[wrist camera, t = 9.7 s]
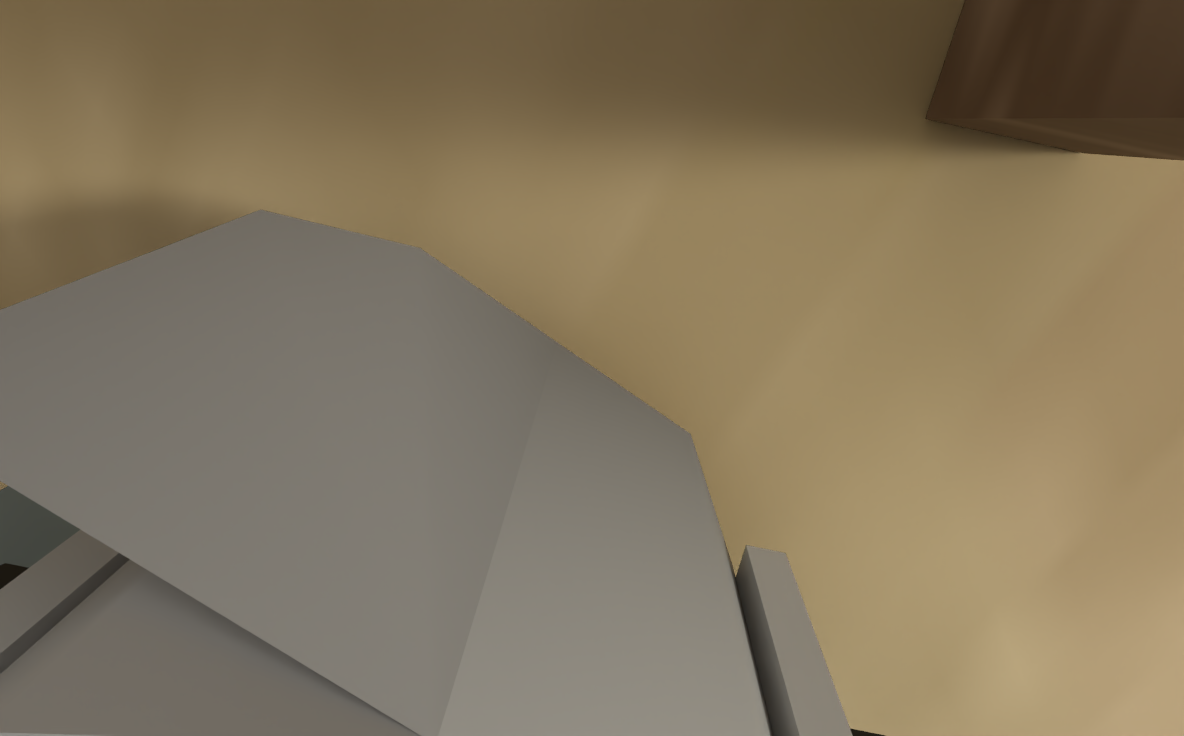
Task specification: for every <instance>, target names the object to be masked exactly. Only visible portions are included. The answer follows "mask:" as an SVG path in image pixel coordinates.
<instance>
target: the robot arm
mask: <svg viewBox="0 0 1184 736" xmlns="http://www.w3.org/2000/svg"><path fill="white" fill-rule="evenodd" d="M129 560H130V559H128V558H127V557H125V556H123V555H122V554H120V553H119V552H117V551H115V550H114V549H112V548H110V547H109V546H107V545H105V544H104V543H102V542H100V541H99V540H97V539H95V538H94V537H92V536H90V535H89V534H87V533H86V532H84V531H82V530H79V531H78V532H76V533H75V534H74V535H72V536H71V537H70V538H68V539H67V540H66V541H64V542H63V543H62V544H60V545H59V546H58V547H56V548H55V549H54V550H52V551H51V552H50V553H48V554H47V555H46V556H44V557H43V558H42V559H40V560H39V561H38V562H36V563H35V564H34V565H32V566H31V567H30V568H28V567H23V566H18V565H13V564H8V563H4V564H2V565H0V674H1V673H2V672H3V671H4V670H5V669H7V668H8V667H9V666H10V665H11V664H12V663H13V662H14V661H16V660H17V659H18V658H19V657H20V656H21V655H22V654H24V653H25V652H26V651H27V650H28V649H29V648H30V647H31V646H33V645H34V644H35V643H36V642H37V641H38V640H39V639H40V638H42V637H43V636H44V635H45V634H46V633H47V632H48V631H49V630H51V629H52V628H53V627H54V626H55V625H56V624H57V623H59V622H60V621H61V620H62V619H63V618H64V617H65V616H66V615H68V614H69V613H70V612H71V611H72V610H73V609H74V608H75V607H77V606H78V605H79V604H80V603H81V602H82V601H83V600H84V599H86V598H87V597H88V596H89V595H90V594H91V593H92V592H94V591H95V590H96V589H97V588H98V587H99V586H100V585H101V584H103V583H104V582H105V581H106V580H107V579H108V578H109V577H110V576H112V575H113V574H114V573H115V572H116V571H117V570H118V569H120V568H121V567H122V566H123V565H124V564H125V563H126V562H127V561H129ZM736 582H737V586H738V590H739V594H740V598H741V602H742V607H743V611H744V615H745V619H746V623H747V627H748V631H749V635H750V640H751V644H752V648H753V652H754V656H755V660H756V664H757V668H758V673H759V677H760V681H761V685H762V689H763V693H764V697H765V701H766V706H767V710H768V714H769V718H770V722H771V726H772V730H773V734H774V736H884V735H879V734H874V733H869V732H864V731H859V730H854V729H850V727H849V724H848V722H847V719H846V716H845V714H844V711H843V708H842V705H841V703H840V700H839V697H838V694H837V692H836V689H835V686H834V684H833V681H832V678H831V675H830V673H829V670H828V667H827V664H826V662H825V659H824V656H823V654H822V651H821V648H820V645H819V643H818V640H817V637H816V635H815V632H814V629H813V626H812V624H811V621H810V618H809V615H808V613H807V610H806V607H805V605H804V602H803V599H802V596H801V594H800V591H799V588H798V585H797V583H796V580H795V577H794V575H793V572H792V569H791V566H790V564H789V561H788V558H787V556H786V553H783V552H778V551H773V550H768V549H763V548H758V547H753V546H748V545H746V547H745V550H744V553H743V556H742V560H741V563H740V566H739V569H738V572H737V575H736Z"/></svg>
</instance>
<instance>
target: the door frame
mask: <svg viewBox="0 0 1184 736" xmlns="http://www.w3.org/2000/svg"><path fill="white" fill-rule="evenodd" d="M926 119H929V120H933V121H938V122H942V123H947V124H952V125H956V126H961V127H965V128H970V129H975V130H979V131H984V132H988V133H993V134H998V135H1002V136H1007V137H1012V138H1016V139H1021V140H1025V141H1030V142H1035V143H1039V144H1044V145H1048V146H1053V147H1058V148H1062V149H1067V150H1071V151H1076V152H1081V153H1088V154H1102V155H1116V156H1130V157H1144V158H1157V159H1171V160H1184V0H965V3H964V6H963V9H962V12H961V15H960V18H959V21H958V24H957V27H956V30H955V33H954V36H953V39H952V42H951V45H950V48H949V51H948V54H947V57H946V60H945V63H944V65H943V68H942V71H941V74H940V77H939V80H938V83H937V86H936V89H935V92H934V95H933V98H932V101H931V104H930V107H929V110H928V113H927V116H926Z"/></svg>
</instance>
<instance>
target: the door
mask: <svg viewBox="0 0 1184 736" xmlns="http://www.w3.org/2000/svg"><path fill="white" fill-rule="evenodd" d="M79 530H81V529H79V528H77V527H76V526H74V525H72V524H71V523H69V522H67V521H66V520H64V519H62V518H61V517H59V516H57V515H56V514H54V513H52V512H51V511H49V510H48V509H46V508H44V507H43V506H41V505H39V504H38V503H36V502H34V501H33V500H31V499H29V498H28V497H26V496H24V495H23V494H21V493H19V492H18V491H16V490H14V489H13V488H11V487H10V486H7V487H5V488H4V489H2V490H0V565H2V564H4V563H8V564H13V565H18V566H23V567H28V568H30V567H31V566H32V565H34V564H35V563H36V562H38V561H39V560H40V559H42V558H43V557H44V556H46V555H47V554H48V553H50V552H51V551H52V550H54V549H55V548H56V547H58V546H59V545H60V544H62V543H63V542H64V541H66V540H67V539H68V538H70V537H71V536H72V535H74V534H75V533H76V532H78V531H79Z"/></svg>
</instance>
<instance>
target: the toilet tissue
mask: <svg viewBox="0 0 1184 736" xmlns="http://www.w3.org/2000/svg"><path fill="white" fill-rule="evenodd" d="M0 481H1V482H3V483H5V484H6V485H8V486H10V487H11V488H13V489H14V490H16V491H18V492H19V493H21V494H23V495H24V496H26V497H28V498H29V499H31V500H33V501H34V502H36V503H38V504H39V505H41V506H43V507H44V508H46V509H48V510H49V511H51V512H52V513H54V514H56V515H57V516H59V517H61V518H62V519H64V520H66V521H67V522H69V523H71V524H72V525H74V526H76V527H77V528H79V529H81V530H82V531H84V532H86V533H87V534H89V535H90V536H92V537H94V538H95V539H97V540H99V541H100V542H102V543H104V544H105V545H107V546H109V547H110V548H112V549H114V550H115V551H117V552H119V553H120V554H122V555H123V556H125V557H127V558H128V559H130V560H129V561H127V562H126V563H125V564H124V565H123V566H122V567H121V568H120V569H118V570H117V571H116V572H115V573H114V574H113V575H112V576H110V577H109V578H108V579H107V580H106V581H105V582H104V583H103V584H101V585H100V586H99V587H98V588H97V589H96V590H95V591H94V592H92V593H91V594H90V595H89V596H88V597H87V598H86V599H84V600H83V601H82V602H81V603H80V604H79V605H78V606H77V607H75V608H74V609H73V610H72V611H71V612H70V613H69V614H68V615H66V616H65V617H64V618H63V619H62V620H61V621H60V622H59V623H57V624H56V625H55V626H54V627H53V628H52V629H51V630H49V631H48V632H47V633H46V634H45V635H44V636H43V637H42V638H40V639H39V640H38V641H37V642H36V643H35V644H34V645H33V646H31V647H30V648H29V649H28V650H27V651H26V652H25V653H24V654H22V655H21V656H20V657H19V658H18V659H17V660H16V661H14V662H13V663H12V664H11V665H10V666H9V667H8V668H7V669H5V670H4V671H3V672H2V673H1V674H0V736H774V734H773V730H772V726H771V722H770V718H769V714H768V710H767V706H766V701H765V697H764V693H763V689H762V685H761V681H760V677H759V673H758V668H757V664H756V660H755V656H754V652H753V648H752V644H751V640H750V635H749V631H748V627H747V623H746V619H745V615H744V611H743V607H742V602H741V598H740V594H739V590H738V586H737V582H736V577H735V573H734V569H733V565H732V562H731V559H730V556H729V553H728V550H727V547H726V543H725V540H724V537H723V534H722V531H721V528H720V525H719V522H718V518H717V515H716V512H715V509H714V506H713V503H712V500H711V496H710V493H709V490H708V487H707V484H706V481H705V478H704V474H703V471H702V468H701V465H700V462H699V459H698V456H697V452H696V449H695V446H694V443H693V440H692V437H691V434H690V433H688V432H687V431H685V430H684V429H683V428H681V427H680V426H678V425H677V424H675V423H674V422H672V421H671V420H669V419H668V418H667V417H665V416H664V415H662V414H661V413H659V412H658V411H656V410H655V409H653V408H652V407H650V406H649V405H648V404H646V403H645V402H643V401H642V400H640V399H639V398H637V397H636V396H634V395H633V394H632V393H630V392H629V391H627V390H626V389H624V388H623V387H621V386H620V385H618V384H617V383H616V382H614V381H613V380H611V379H610V378H608V377H607V376H605V375H604V374H602V373H601V372H600V371H598V370H597V369H595V368H594V367H592V366H591V365H589V364H588V363H586V362H585V361H584V360H582V359H581V358H579V357H578V356H576V355H575V354H573V353H572V352H570V351H569V350H568V349H566V348H565V347H563V346H562V345H560V344H559V343H557V342H556V341H554V340H553V339H552V338H550V337H549V336H547V335H546V334H544V333H543V332H541V331H540V330H538V329H537V328H536V327H534V326H533V325H531V324H530V323H528V322H527V321H525V320H524V319H522V318H521V317H519V316H518V315H517V314H515V313H514V312H512V311H511V310H509V309H508V308H506V307H505V306H503V305H502V304H501V303H499V302H498V301H496V300H495V299H493V298H492V297H490V296H489V295H487V294H486V293H485V292H483V291H482V290H480V289H479V288H477V287H476V286H474V285H473V284H471V283H470V282H469V281H467V280H466V279H464V278H463V277H461V276H460V275H458V274H457V273H455V272H454V271H453V270H451V269H450V268H448V267H447V266H445V265H444V264H442V263H441V262H439V261H438V260H437V259H435V258H434V257H432V256H431V255H429V254H428V253H426V252H425V251H423V250H422V249H421V248H418V247H414V246H410V245H405V244H401V243H397V242H393V241H389V240H385V239H380V238H376V237H372V236H368V235H364V234H360V233H356V232H351V231H347V230H343V229H339V228H335V227H331V226H326V225H322V224H318V223H314V222H310V221H306V220H301V219H297V218H293V217H289V216H285V215H281V214H277V213H272V212H268V211H264V210H258V211H256V212H253V213H251V214H248V215H245V216H243V217H240V218H238V219H235V220H232V221H230V222H227V223H225V224H222V225H219V226H217V227H214V228H212V229H209V230H206V231H204V232H201V233H199V234H196V235H193V236H191V237H188V238H186V239H183V240H180V241H178V242H175V243H173V244H170V245H167V246H165V247H162V248H160V249H157V250H154V251H152V252H149V253H147V254H144V255H142V256H139V257H136V258H134V259H131V260H129V261H126V262H123V263H121V264H118V265H116V266H113V267H110V268H108V269H105V270H103V271H100V272H97V273H95V274H92V275H90V276H87V277H84V278H82V279H79V280H77V281H74V282H71V283H69V284H66V285H64V286H61V287H58V288H56V289H53V290H51V291H48V292H45V293H43V294H40V295H38V296H35V297H32V298H30V299H27V300H25V301H22V302H19V303H17V304H14V305H12V306H9V307H6V308H4V309H1V310H0Z"/></svg>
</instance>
